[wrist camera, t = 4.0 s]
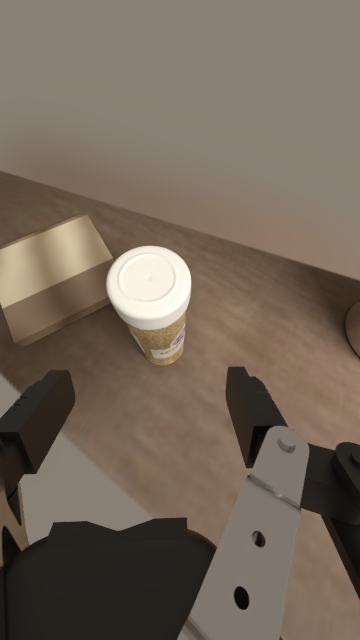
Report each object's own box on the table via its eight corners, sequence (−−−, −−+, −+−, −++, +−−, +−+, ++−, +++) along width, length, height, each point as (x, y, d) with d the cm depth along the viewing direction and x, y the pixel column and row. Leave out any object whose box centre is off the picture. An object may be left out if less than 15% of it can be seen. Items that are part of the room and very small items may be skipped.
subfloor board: (89, 221, 30) (85, 212, 29) (132, 292, 26) (129, 286, 25) (-7, 261, 27) (-17, 253, 26) (23, 347, 23) (14, 343, 22)
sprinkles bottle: (177, 371, 23) (177, 328, 10) (136, 358, 23) (88, 303, 11) (188, 331, 24) (201, 252, 12) (150, 320, 25) (123, 233, 12)
